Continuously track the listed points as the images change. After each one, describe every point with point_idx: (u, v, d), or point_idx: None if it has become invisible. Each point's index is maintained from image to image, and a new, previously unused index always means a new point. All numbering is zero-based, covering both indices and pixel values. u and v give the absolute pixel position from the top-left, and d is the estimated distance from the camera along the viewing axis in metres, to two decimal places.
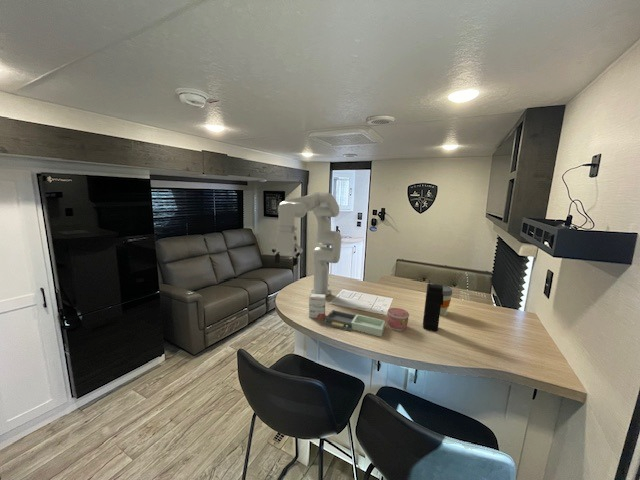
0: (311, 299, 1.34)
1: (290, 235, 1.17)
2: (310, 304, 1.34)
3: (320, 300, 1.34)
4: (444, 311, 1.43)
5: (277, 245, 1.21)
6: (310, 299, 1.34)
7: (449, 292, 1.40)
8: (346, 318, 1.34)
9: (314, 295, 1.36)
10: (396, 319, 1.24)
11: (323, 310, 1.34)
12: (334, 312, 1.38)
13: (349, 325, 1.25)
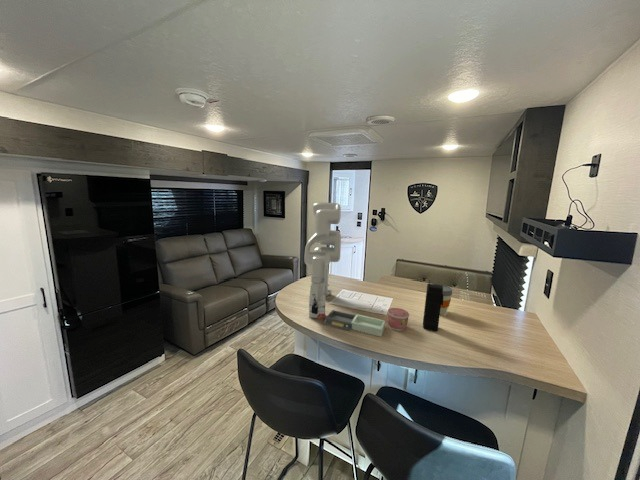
0: None
1: None
2: (310, 304, 1.34)
3: (320, 300, 1.34)
4: (444, 311, 1.43)
5: (318, 296, 1.31)
6: None
7: (449, 292, 1.40)
8: (346, 318, 1.34)
9: None
10: (396, 319, 1.24)
11: (323, 309, 1.34)
12: (334, 312, 1.38)
13: (349, 325, 1.25)
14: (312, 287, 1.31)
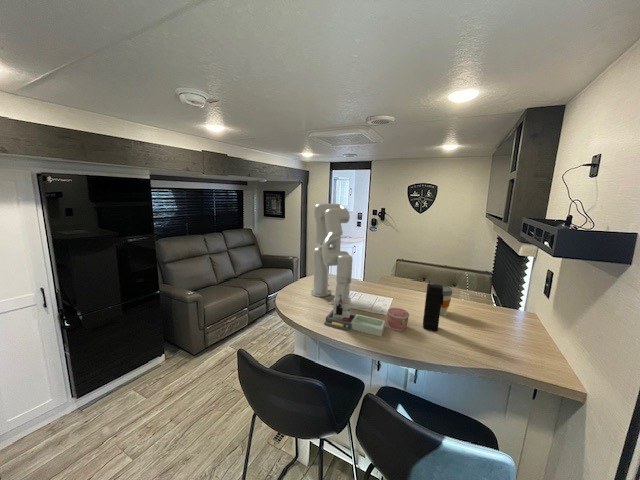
0: (335, 302, 1.29)
1: None
2: (334, 307, 1.30)
3: (345, 303, 1.28)
4: (444, 311, 1.43)
5: (344, 297, 1.26)
6: (334, 302, 1.29)
7: (449, 292, 1.40)
8: None
9: None
10: (396, 319, 1.24)
11: (348, 313, 1.29)
12: None
13: (349, 325, 1.25)
14: (338, 287, 1.25)
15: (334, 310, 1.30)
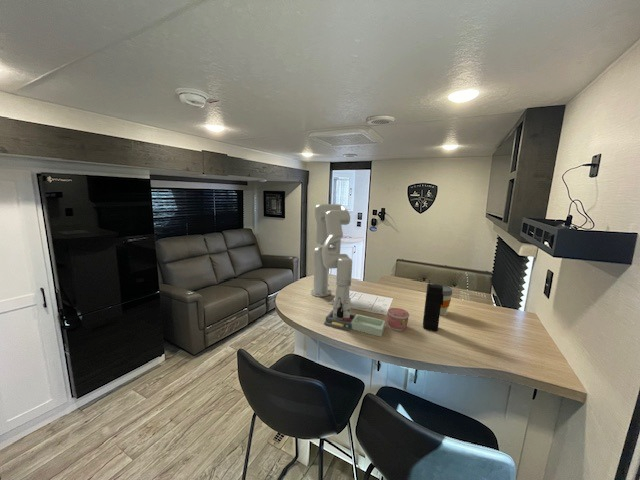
0: None
1: None
2: (334, 307, 1.29)
3: None
4: (444, 311, 1.43)
5: (344, 299, 1.26)
6: (334, 302, 1.29)
7: (449, 292, 1.40)
8: None
9: None
10: (396, 319, 1.24)
11: (348, 314, 1.28)
12: None
13: (349, 325, 1.25)
14: (338, 290, 1.25)
15: (334, 310, 1.30)
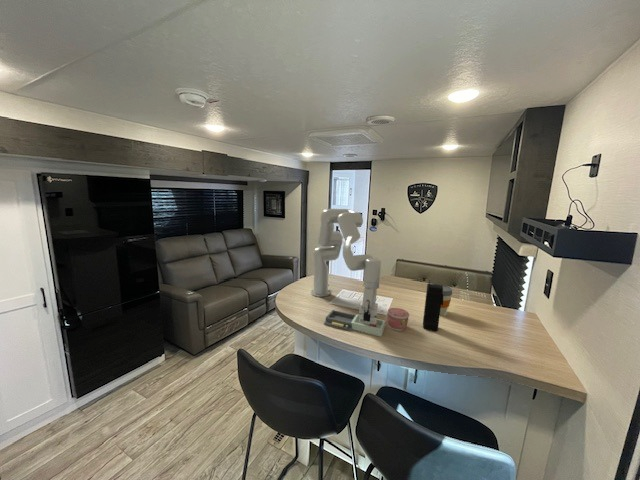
0: (361, 308, 1.24)
1: None
2: (360, 313, 1.24)
3: (371, 309, 1.23)
4: (444, 311, 1.43)
5: (373, 302, 1.20)
6: (361, 307, 1.24)
7: (449, 292, 1.40)
8: (346, 318, 1.34)
9: None
10: (396, 319, 1.24)
11: (375, 320, 1.23)
12: (334, 312, 1.38)
13: (349, 325, 1.25)
14: (366, 292, 1.20)
15: (360, 316, 1.25)
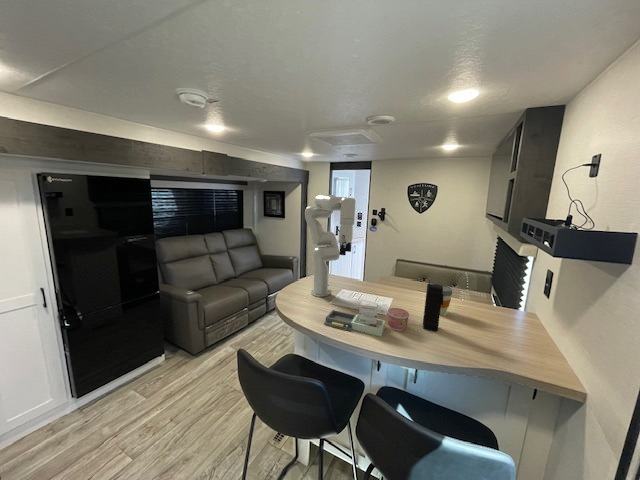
0: (361, 308, 1.24)
1: (352, 225, 1.36)
2: (360, 313, 1.24)
3: (371, 309, 1.23)
4: (444, 311, 1.43)
5: (348, 237, 1.31)
6: (361, 307, 1.24)
7: (449, 292, 1.40)
8: (346, 318, 1.34)
9: (365, 303, 1.25)
10: (396, 319, 1.24)
11: (375, 320, 1.23)
12: (334, 312, 1.38)
13: (349, 325, 1.25)
14: (341, 228, 1.30)
15: (360, 316, 1.25)
